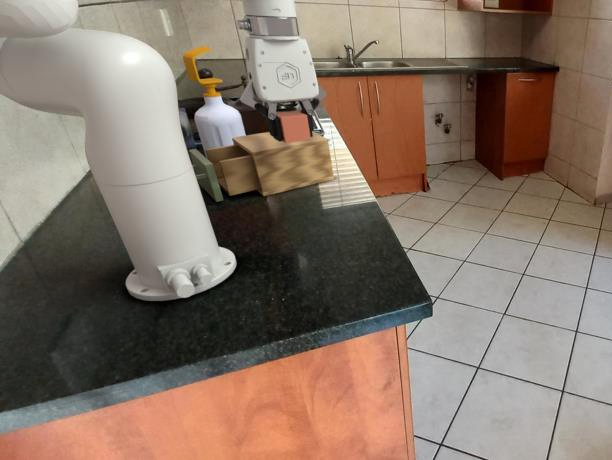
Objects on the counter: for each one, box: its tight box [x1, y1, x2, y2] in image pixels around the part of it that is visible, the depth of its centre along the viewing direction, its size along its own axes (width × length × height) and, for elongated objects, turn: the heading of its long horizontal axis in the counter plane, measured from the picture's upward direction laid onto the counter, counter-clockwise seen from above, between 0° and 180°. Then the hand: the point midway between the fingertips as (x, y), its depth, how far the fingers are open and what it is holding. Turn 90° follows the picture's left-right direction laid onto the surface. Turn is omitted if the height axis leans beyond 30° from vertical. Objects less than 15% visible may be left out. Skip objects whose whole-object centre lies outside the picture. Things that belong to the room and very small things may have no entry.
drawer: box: [188, 144, 261, 202], centre depth 83 cm, size 19×11×7 cm, turn 136°
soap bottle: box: [182, 45, 246, 159], centre depth 97 cm, size 9×9×25 cm
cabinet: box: [232, 131, 335, 197], centre depth 91 cm, size 15×12×9 cm
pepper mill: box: [197, 67, 269, 135], centre depth 111 cm, size 16×11×18 cm
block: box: [276, 110, 311, 143], centre depth 78 cm, size 4×4×4 cm
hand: (293, 136), depth 78 cm, fingers closed on block, 4 cm apart
